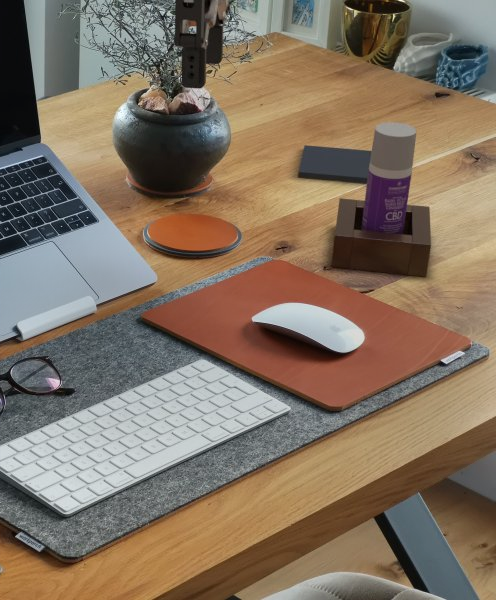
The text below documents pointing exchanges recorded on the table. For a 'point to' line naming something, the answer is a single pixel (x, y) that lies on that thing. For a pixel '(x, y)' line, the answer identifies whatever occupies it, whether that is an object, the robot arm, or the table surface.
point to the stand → (382, 242)
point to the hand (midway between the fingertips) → (202, 74)
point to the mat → (335, 164)
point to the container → (389, 178)
